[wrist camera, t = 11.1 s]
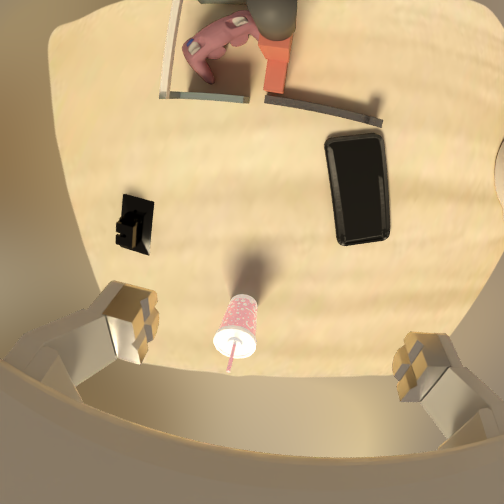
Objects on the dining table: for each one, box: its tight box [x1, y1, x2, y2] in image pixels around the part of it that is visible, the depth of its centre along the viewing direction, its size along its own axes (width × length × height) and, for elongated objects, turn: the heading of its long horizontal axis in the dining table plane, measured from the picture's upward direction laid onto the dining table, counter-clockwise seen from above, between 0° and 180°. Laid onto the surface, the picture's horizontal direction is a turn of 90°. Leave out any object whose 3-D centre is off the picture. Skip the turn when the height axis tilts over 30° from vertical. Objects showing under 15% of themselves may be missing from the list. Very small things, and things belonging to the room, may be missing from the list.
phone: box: [324, 133, 390, 246], centre depth 37 cm, size 8×1×15 cm
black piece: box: [116, 194, 154, 255], centre depth 42 cm, size 12×7×5 cm, turn 165°
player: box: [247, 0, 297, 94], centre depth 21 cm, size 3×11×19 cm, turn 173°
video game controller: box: [182, 10, 260, 84], centre depth 28 cm, size 10×5×7 cm, turn 121°
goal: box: [159, 0, 250, 103], centre depth 26 cm, size 8×15×9 cm, turn 173°
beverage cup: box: [214, 294, 258, 373], centre depth 42 cm, size 6×6×14 cm
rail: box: [264, 95, 383, 128], centre depth 31 cm, size 14×1×3 cm, turn 83°
